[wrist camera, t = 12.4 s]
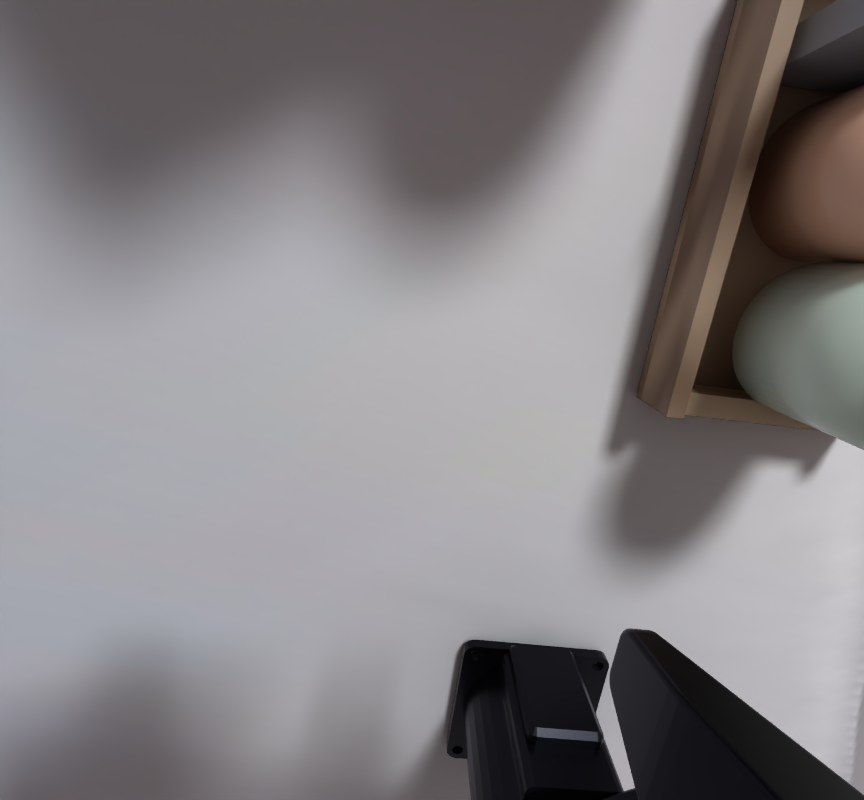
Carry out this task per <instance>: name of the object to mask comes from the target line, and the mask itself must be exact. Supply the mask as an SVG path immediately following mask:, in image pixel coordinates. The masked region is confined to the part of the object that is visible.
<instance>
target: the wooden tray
mask: <svg viewBox="0 0 864 800" xmlns="http://www.w3.org/2000/svg"><path fill="white" fill-rule="evenodd" d="M835 1H836V0H737V4H736V8H735V12H734V16H733V20H732V24H731V28H730V32H729V36H728V40H727V44H726V47H725V51H724V55H723V59H722V63H721V67H720V71H719V75H718V79H717V83H716V87H715V91H714V94H713V98H712V102H711V106H710V110H709V114H708V118H707V122H706V126H705V130H704V134H703V138H702V141H701V145H700V149H699V153H698V157H697V161H696V165H695V169H694V173H693V177H692V181H691V185H690V188H689V192H688V196H687V200H686V204H685V208H684V212H683V216H682V220H681V224H680V228H679V231H678V235H677V239H676V243H675V247H674V251H673V255H672V259H671V263H670V267H669V271H668V275H667V278H666V282H665V286H664V290H663V294H662V298H661V302H660V306H659V310H658V314H657V318H656V322H655V325H654V329H653V333H652V337H651V341H650V345H649V349H648V353H647V357H646V361H645V365H644V369H643V372H642V376H641V380H640V384H639V388H638V392H637V396H636V397H638V398H639V399H641V400H642V401H644V402H645V403H647V404H648V405H650V406H651V407H653V408H654V409H656V410H657V411H659V412H660V413H662V414H663V415H665V416H666V417H673V418H682V419H684V416H685V415H689V416H698V417H706V418H715V419H724V420H732V421H741V422H750V423H758V424H767V425H775V426H784V427H793V428H801V429H810V430H817V429H815V428H813V427H811V426H808V425H806V424H804V423H802V422H799V421H797V420H795V419H793V418H790V417H788V416H786V415H784V414H781V413H779V412H777V411H775V410H772V409H770V408H768V407H766V406H764V405H762V404H760V403H758V402H757V401H755V400H754V399H752V398H751V397H750V396H749V395H748V394H747V393H746V392H745V390H744V389H743V388H742V386H741V385H740V383H739V381H738V379H737V376H736V373H735V370H734V366H733V358H732V349H733V340H734V336H735V331H736V329H737V326H738V323H739V321H740V319H741V317H742V315H743V313H744V311H745V309H746V308H747V306H748V305H749V303H750V302H751V301H752V299H753V298H754V297H755V296H756V295H757V294H758V293H759V292H760V291H761V290H762V289H763V288H764V287H765V286H766V285H767V284H768V283H770V282H771V281H772V280H773V279H775V278H776V277H778V276H780V275H781V274H783V273H785V272H787V271H789V270H791V269H793V268H796V267H799V266H802V265H806V264H810V263H817V262H802V261H795V260H790V259H787V258H785V257H782V256H780V255H778V254H777V253H775V252H773V251H772V250H771V249H770V248H768V247H767V246H766V245H765V244H764V243H763V241H762V240H761V239H760V237H759V236H758V234H757V233H756V231H755V228H754V226H753V224H752V221H751V217H750V213H749V205H748V194H749V190H750V187H751V183H752V180H753V176H754V173H755V169H756V166H757V162H758V159H759V155H760V152H761V150H762V149H763V147H764V146H765V144H766V142H767V141H768V140H769V138H770V137H771V136H772V134H773V133H774V132H775V131H776V130H777V129H778V128H779V127H780V126H781V125H782V124H783V123H784V122H785V121H786V120H787V119H789V118H790V117H791V116H792V115H794V114H795V113H797V112H799V111H800V110H802V109H804V108H806V107H808V106H810V105H812V104H815V103H817V102H820V101H822V100H825V99H828V98H830V97H833V96H836V95H838V94H837V93H831V92H825V91H818V90H812V89H805V88H799V87H793V86H786V85H780V83H781V79H782V76H783V72H784V69H785V65H786V62H787V58H788V55H789V51H790V48H791V44H792V41H793V37H794V34H795V31H796V27H797V24H799V23H800V22H802V21H803V20H805V19H807V18H808V17H810V16H812V15H813V14H815V13H817V12H818V11H820V10H822V9H823V8H825V7H827V6H828V5H830V4H832V3H833V2H835ZM819 431H820V430H819Z"/></svg>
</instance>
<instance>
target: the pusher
mask: <svg viewBox="0 0 864 800" xmlns="http://www.w3.org/2000/svg"><path fill="white" fill-rule="evenodd" d="M780 85H786V86H793V87H799V88H805V89H812V90H818V91H825V92H831V93H837V94H841V93H843V92H846V91H849V90H851V89H854V88H857V87H859V86H862V85H864V0H836V1H835V2H833V3H832V4H830V5H828V6H827V7H825V8H823V9H822V10H820V11H818V12H817V13H815V14H813V15H812V16H810V17H808V18H807V19H805V20H803V21H802V22H800V23H799V24H797V27H796V31H795V34H794V37H793V41H792V44H791V48H790V51H789V55H788V58H787V62H786V65H785V69H784V72H783V76H782V79H781V83H780Z"/></svg>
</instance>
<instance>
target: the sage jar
mask: <svg viewBox="0 0 864 800" xmlns="http://www.w3.org/2000/svg"><path fill="white" fill-rule="evenodd" d="M732 358H733V366H734V370H735V373H736V376H737V379H738V381H739V383H740V385H741V386H742V388H743V389H744V390H745V392H746V393H747V394H748V395H749V396H750V397H751V398H752V399H754V400H755V401H757V402H758V403H760V404H762V405H764V406H766V407H768V408H770V409H772V410H775V411H777V412H779V413H781V414H784V415H786V416H788V417H790V418H793V419H795V420H797V421H799V422H802V423H804V424H806V425H808V426H811V427H813V428H815V429H817V430H820V431H822V432H824V433H827V434H829V435H831V436H833V437H836V438H838V439H840V440H842V441H845V442H847V443H849V444H851V445H854V446H856V447H858V448H860V449H863V450H864V263H852V262H817V263H810V264H806V265H802V266H799V267H796V268H793V269H791V270H789V271H787V272H785V273H783V274H781V275H780V276H778V277H776V278H775V279H773V280H772V281H771V282H770V283H768V284H767V285H766V286H765V287H764V288H763V289H762V290H761V291H760V292H759V293H758V294H757V295H756V296H755V297H754V298H753V299H752V301H751V302H750V303H749V305H748V306H747V308H746V309H745V311H744V313H743V315H742V317H741V319H740V321H739V323H738V326H737V329H736V331H735V336H734V340H733V349H732Z"/></svg>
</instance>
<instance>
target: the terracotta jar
mask: <svg viewBox="0 0 864 800" xmlns="http://www.w3.org/2000/svg"><path fill="white" fill-rule="evenodd" d="M748 205H749V213H750V217H751V221H752V224H753V226H754V228H755V231H756V233H757V234H758V236H759V237H760V239H761V240H762V241H763V243H764V244H765V245H766V246H767V247H768V248H770V249H771V250H772V251H773V252H775V253H777V254H778V255H780V256H782V257H785V258H787V259H790V260H795V261H802V262H852V263H864V85H862V86H859V87H857V88H854V89H851V90H849V91H846V92H843V93H841V94H838V95H836V96H833V97H830V98H828V99H825V100H822V101H820V102H817V103H815V104H812V105H810V106H808V107H806V108H804V109H802V110H800V111H799V112H797V113H795V114H794V115H792V116H791V117H790V118H789V119H787V120H786V121H785V122H784V123H783V124H782V125H781V126H780V127H779V128H778V129H777V130H776V131H775V132H774V133H773V134H772V136H771V137H770V138H769V140H768V141H767V142H766V144H765V146H764V147H763V149H762V150H761V152H760V155H759V159H758V162H757V166H756V169H755V173H754V176H753V180H752V183H751V187H750V190H749V194H748Z"/></svg>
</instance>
